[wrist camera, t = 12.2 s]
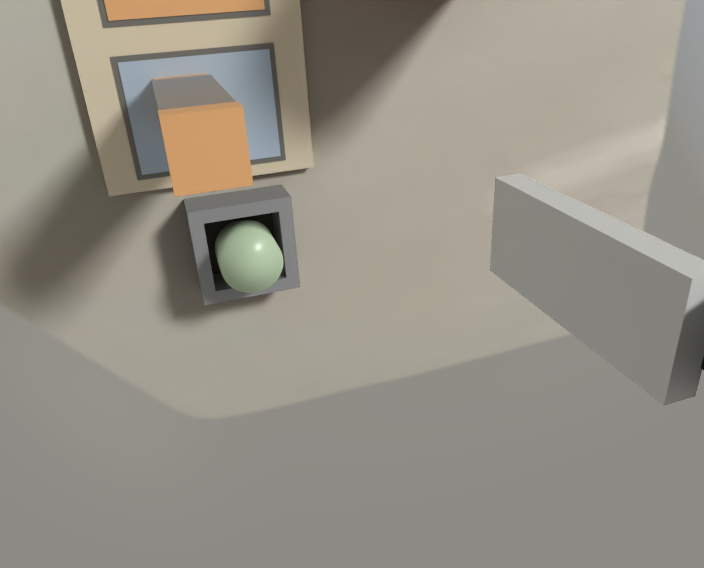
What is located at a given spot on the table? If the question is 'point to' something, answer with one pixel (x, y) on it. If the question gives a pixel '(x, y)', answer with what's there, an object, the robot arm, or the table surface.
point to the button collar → (239, 207)
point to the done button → (248, 256)
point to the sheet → (185, 59)
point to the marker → (202, 134)
